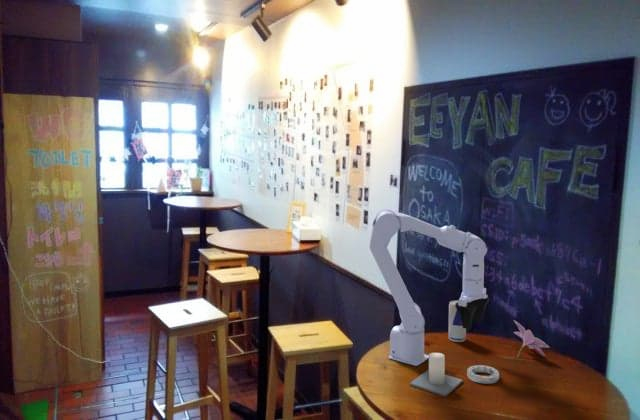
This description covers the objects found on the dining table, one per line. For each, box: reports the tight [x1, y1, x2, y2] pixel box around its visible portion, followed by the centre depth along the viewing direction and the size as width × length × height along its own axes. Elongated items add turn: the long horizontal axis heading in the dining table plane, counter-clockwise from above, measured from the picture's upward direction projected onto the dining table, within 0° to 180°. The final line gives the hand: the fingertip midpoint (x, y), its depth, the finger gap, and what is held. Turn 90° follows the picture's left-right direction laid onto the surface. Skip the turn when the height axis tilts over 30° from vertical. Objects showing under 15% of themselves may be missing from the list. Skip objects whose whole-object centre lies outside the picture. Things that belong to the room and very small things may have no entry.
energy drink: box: [447, 299, 467, 343], centre depth 166 cm, size 5×5×12 cm
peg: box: [428, 352, 446, 385], centre depth 136 cm, size 4×4×7 cm
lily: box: [512, 319, 550, 358], centre depth 153 cm, size 12×12×10 cm
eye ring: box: [466, 364, 500, 385], centre depth 139 cm, size 8×8×2 cm
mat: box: [409, 369, 464, 397], centre depth 136 cm, size 10×10×1 cm
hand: (472, 324), depth 149 cm, fingers open, 7 cm apart
